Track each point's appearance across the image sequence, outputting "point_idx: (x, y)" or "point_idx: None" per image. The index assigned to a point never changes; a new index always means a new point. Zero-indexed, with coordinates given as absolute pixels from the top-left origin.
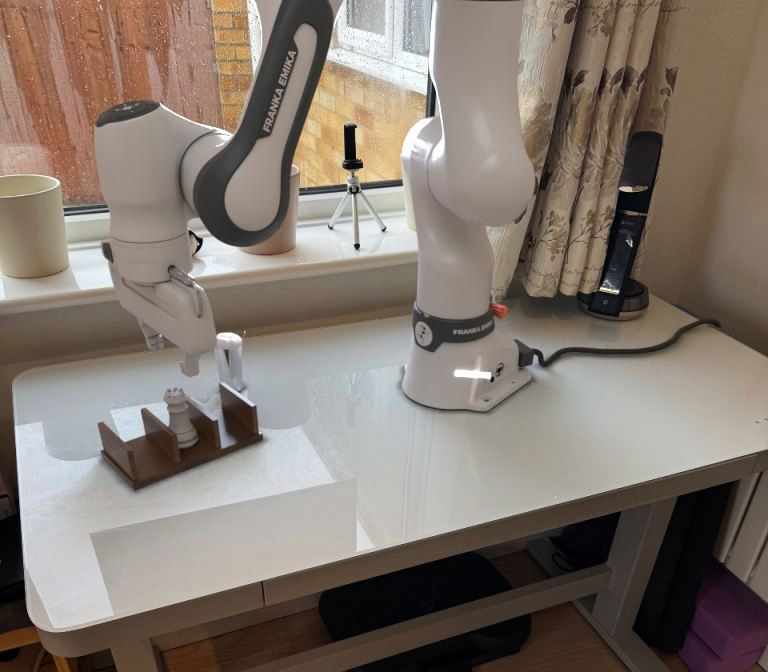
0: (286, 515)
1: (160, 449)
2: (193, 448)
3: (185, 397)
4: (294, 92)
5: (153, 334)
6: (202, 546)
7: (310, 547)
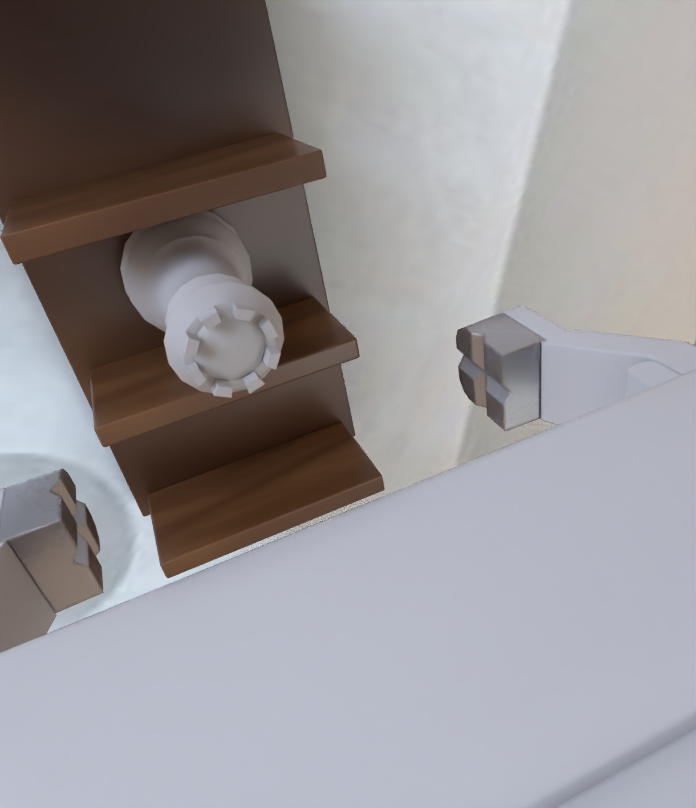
0: (648, 55)
1: None
2: (247, 239)
3: (258, 299)
4: None
5: (26, 585)
6: (610, 301)
7: None
